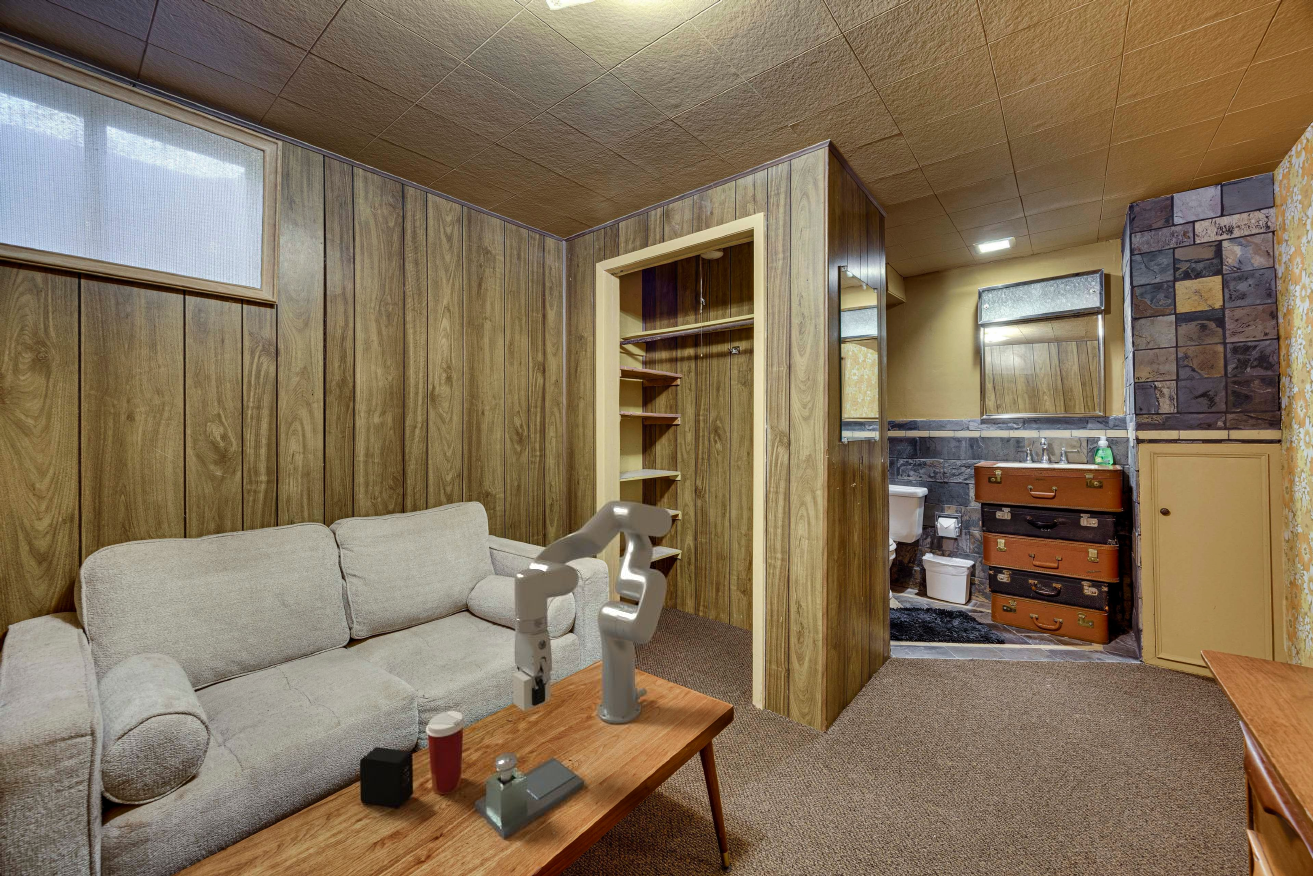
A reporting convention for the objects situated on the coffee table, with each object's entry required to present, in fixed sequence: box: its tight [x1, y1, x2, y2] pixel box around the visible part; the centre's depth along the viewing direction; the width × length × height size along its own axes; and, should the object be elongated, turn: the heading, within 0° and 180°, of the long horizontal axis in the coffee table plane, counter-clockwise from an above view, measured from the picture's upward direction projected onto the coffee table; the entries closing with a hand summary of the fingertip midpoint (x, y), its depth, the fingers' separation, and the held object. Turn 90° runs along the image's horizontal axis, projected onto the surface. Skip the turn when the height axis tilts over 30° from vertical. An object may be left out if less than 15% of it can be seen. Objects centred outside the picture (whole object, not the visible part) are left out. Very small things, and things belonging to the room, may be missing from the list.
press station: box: [474, 756, 585, 840], centre depth 110 cm, size 20×12×8 cm, turn 136°
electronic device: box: [359, 746, 414, 810], centre depth 110 cm, size 4×10×10 cm, turn 78°
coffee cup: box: [425, 710, 466, 795], centre depth 115 cm, size 8×8×15 cm
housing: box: [512, 670, 552, 712], centre depth 119 cm, size 7×5×7 cm
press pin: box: [494, 752, 518, 786], centre depth 105 cm, size 4×4×6 cm
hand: (532, 698), depth 119 cm, fingers closed on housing, 5 cm apart
